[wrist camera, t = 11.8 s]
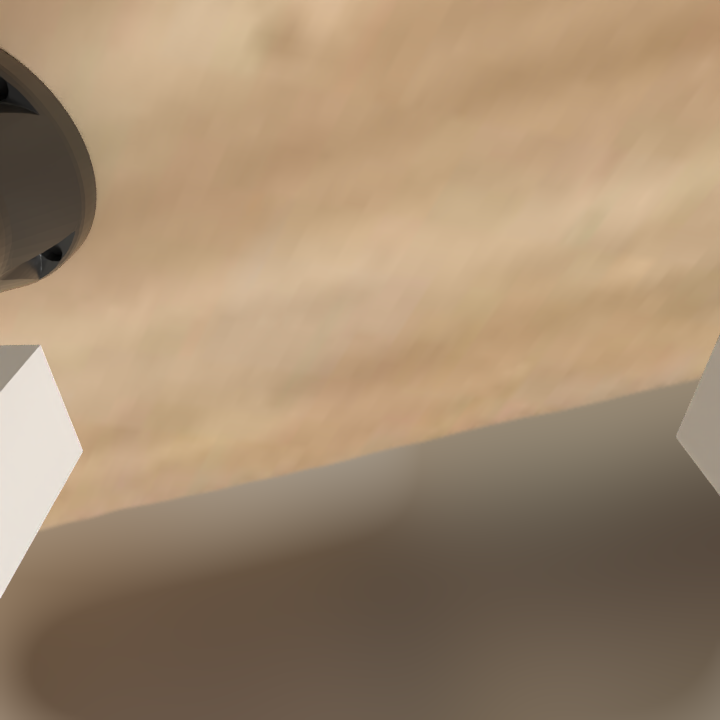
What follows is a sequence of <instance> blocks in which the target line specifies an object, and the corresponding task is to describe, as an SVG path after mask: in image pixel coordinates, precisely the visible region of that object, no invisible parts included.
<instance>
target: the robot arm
mask: <svg viewBox="0 0 720 720" xmlns="http://www.w3.org/2000/svg"><path fill="white" fill-rule="evenodd" d="M95 209H96V183H95V176H94V171H93V167H92V163H91V160H90V157H89V154H88V151H87V149H86V146H85V144H84V141H83V139H82V137H81V135H80V133H79V131H78V129H77V127H76V126H75V124H74V122H73V121H72V119H71V117H70V116H69V114H68V113H67V112H66V110H65V109H64V107H63V106H62V105H61V103H60V102H59V101H58V100H57V98H56V97H55V96H54V95H53V94H52V92H51V91H50V90H49V89H48V88H47V87H46V86H45V85H44V84H43V83H42V82H41V81H40V80H39V79H38V78H37V77H36V76H35V75H34V74H33V73H32V72H31V71H29V70H28V69H27V68H26V67H24V66H23V65H22V64H21V63H19V62H18V61H17V60H15V59H14V58H13V57H11V56H10V55H8V54H7V53H5V52H4V51H2V50H1V49H0V292H4V291H8V290H12V289H16V288H19V287H23V286H27V285H30V284H32V283H35V282H37V281H39V280H41V279H43V278H45V277H47V276H48V275H50V274H52V273H53V272H55V271H56V270H57V269H58V268H60V267H61V266H62V265H63V264H64V263H65V262H66V261H67V260H68V259H69V258H70V257H71V256H72V255H73V254H74V253H75V252H76V251H77V250H78V249H79V248H80V246H81V245H82V244H83V242H84V241H85V239H86V237H87V235H88V233H89V231H90V229H91V226H92V223H93V219H94V215H95ZM676 438H677V439H678V441H679V442H680V443H681V445H682V446H683V447H684V449H685V450H686V451H687V453H688V454H689V455H690V457H691V458H692V459H693V461H694V462H695V463H696V465H697V466H698V467H699V469H700V470H701V471H702V473H703V474H704V475H705V477H706V478H707V479H708V481H709V482H710V483H711V484H712V486H713V487H714V489H715V490H716V491H717V493H718V494H719V495H720V335H719V337H718V340H717V342H716V344H715V347H714V349H713V351H712V354H711V356H710V358H709V361H708V363H707V365H706V367H705V370H704V372H703V374H702V377H701V379H700V381H699V384H698V386H697V388H696V391H695V393H694V395H693V398H692V400H691V402H690V405H689V407H688V409H687V412H686V414H685V416H684V419H683V421H682V423H681V425H680V428H679V430H678V432H677V435H676ZM82 452H83V450H82V447H81V445H80V442H79V440H78V437H77V435H76V432H75V430H74V427H73V425H72V422H71V420H70V417H69V415H68V412H67V410H66V407H65V405H64V402H63V400H62V397H61V395H60V392H59V390H58V387H57V385H56V382H55V380H54V377H53V375H52V372H51V370H50V367H49V365H48V362H47V360H46V357H45V355H44V352H43V350H42V347H41V345H5V346H0V598H1V596H2V594H3V593H4V591H5V589H6V587H7V585H8V584H9V582H10V580H11V578H12V577H13V575H14V573H15V571H16V569H17V568H18V566H19V564H20V562H21V560H22V559H23V557H24V555H25V553H26V552H27V550H28V548H29V546H30V545H31V543H32V541H33V539H34V537H35V536H36V534H37V532H38V530H39V529H40V527H41V525H42V523H43V521H44V520H45V518H46V516H47V514H48V513H49V511H50V509H51V507H52V505H53V504H54V502H55V500H56V498H57V496H58V495H59V493H60V491H61V489H62V488H63V486H64V484H65V482H66V480H67V479H68V477H69V475H70V473H71V472H72V470H73V468H74V466H75V464H76V463H77V461H78V459H79V457H80V456H81V454H82Z"/></svg>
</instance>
